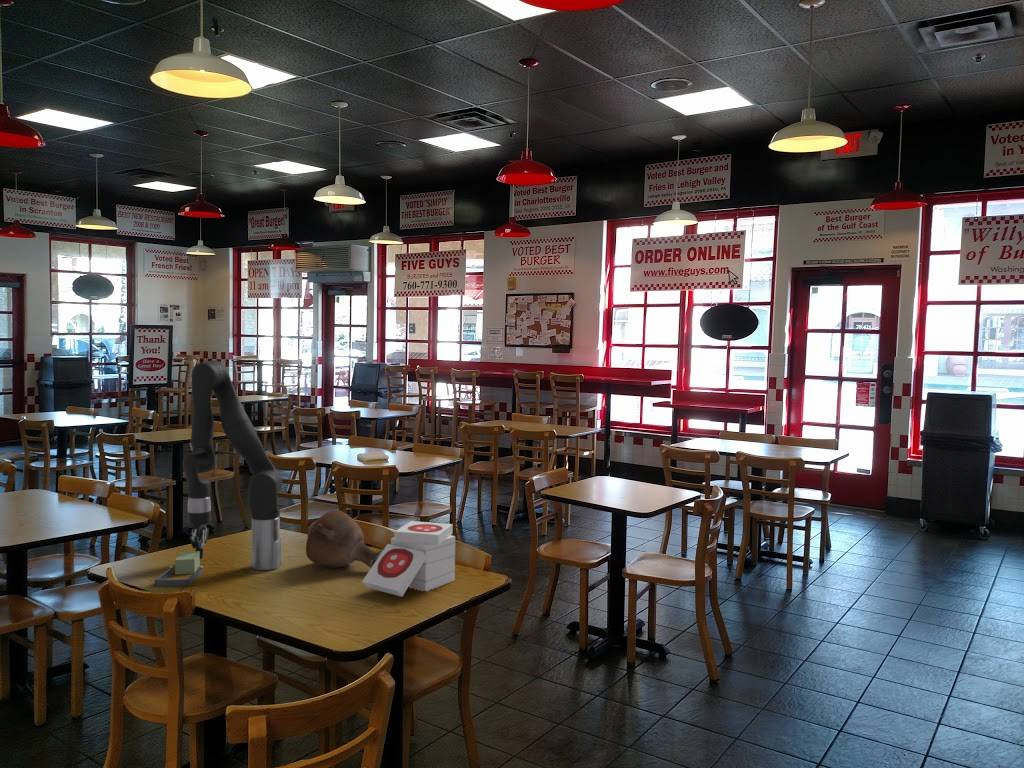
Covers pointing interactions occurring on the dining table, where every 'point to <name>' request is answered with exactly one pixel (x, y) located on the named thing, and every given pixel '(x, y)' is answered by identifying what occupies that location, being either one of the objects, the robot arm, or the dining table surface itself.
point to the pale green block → (187, 562)
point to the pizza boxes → (415, 559)
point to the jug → (338, 541)
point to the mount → (176, 582)
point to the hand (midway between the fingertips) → (199, 558)
